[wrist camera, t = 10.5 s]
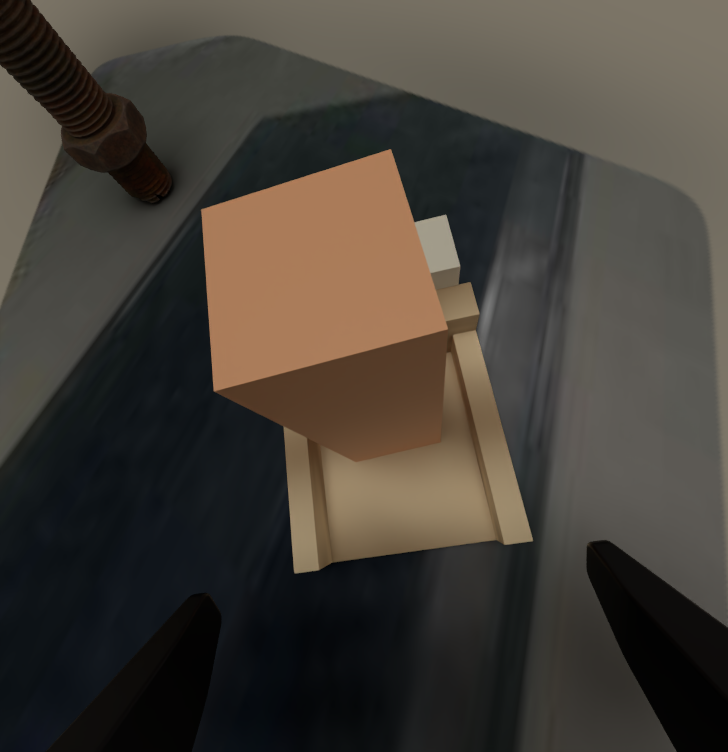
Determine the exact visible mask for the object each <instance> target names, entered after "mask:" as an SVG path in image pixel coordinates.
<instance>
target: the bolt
mask: <svg viewBox="0 0 728 752" xmlns="http://www.w3.org/2000/svg"><path fill="white" fill-rule="evenodd" d="M0 65H1V66H2V67H3V68H5V69H6V70H7V72H8V73H9V74H10V75H12V76H13V77H14V79H15V80H16V81H17V82H19V83H20V85H21V86H22V87H23V88H24V89H26V90H27V92H28V93H29V94H30V95H32V96H33V97H34V99H35V100H36V101H38V102H40V104H41V106H43V107H44V108H46V110H47V111H48V112H49V113H50V114H51V115H52V116H53V118H55V119H56V120H57V122H58V123H59V124H60V125H62V128H61V137H62V143H63V147H64V150H65V151H66V152H67V153H68V154H69V155H70V156H71V157H72V158H73V159H74V160H75V161H76V162H77V163H78V164H80V165H81V166H83V167H86V168H88V169H90V170H94V171H97V172H102V173H104V172H109V174H110V175H111V176H113V178H114V179H115V180H116V181H117V182H118V184H120V185H121V186H122V188H124V189H125V190H126V191H127V192H128V193H129V194H130V195H131V196H132V197H136V198H139V199H141V200H142V201H148V202H150V203H156V202H158V201H159V200H160V199H159V198H158V197H156V195H155V194H157V195H161V196H166V195H167V194H168V192H169V191H170V187H171V184H172V179H171V176H170V174H169V172H168V170H167V169H166V168H165V166H164V165H163V163H161V161H160V160H159V159H158V157H157V156H156V155H155V154H154V152H152V150H151V149H150V148H149V146H148V145H147V144H146V137H147V133H146V126H145V122H144V118H143V116H142V115H141V114H140V112H139V111H138V110H137V108H136V107H135V106H134V105H133V103H132V102H131V101H130V100H128V99H126V98H124V97H121V96H119V95H116V94H111V93H105V92H104V91H103V90H102V88H101V86H100V85H98V84H97V82H96V80H95V79H94V78H92V76H91V75H90V73H89V72H88V71H87V70H86V68H85V67H84V66H83V65H82V64H81V62H80V61H79V60H78V59H76V55H74V54H73V52H71V50H70V48H69V47H68V46H67V45H65V43H64V42H63V40H62V39H61V37H59V36H58V33H57V32H56V31H55V30H54V29H52V26H51V25H50V24H49V22H47V21H46V19H45V18H44V16H43V15H42V14H41V13H39V10H38V9H37V7H36V6H35V5H33V4H32V2H31V0H0ZM153 193H154V194H153Z"/></svg>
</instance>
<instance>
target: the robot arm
mask: <svg viewBox="0 0 728 752" xmlns="http://www.w3.org/2000/svg"><path fill="white" fill-rule="evenodd" d="M587 573H588V576H589V579H590V581H591V583H592V586H593V588H594V590H595V592H596V595H597V597H598V599H599V601H600V604H601V606H602V608H603V611H604V613H605V615H606V617H607V620H608V622H609V624H610V626H611V629H612V631H613V633H614V635H615V638H616V640H617V642H618V644H619V647H620V649H621V651H622V653H623V655H624V657H625V659H626V661H627V663H628V665H629V667H630V669H631V670H632V672H633V674H634V676H635V678H636V679H637V681H638V683H639V685H640V687H641V688H642V690H643V692H644V694H645V696H646V697H647V699H648V701H649V703H650V705H651V706H652V708H653V710H654V712H655V714H656V715H657V717H658V719H659V721H660V723H661V724H662V726H663V728H664V730H665V732H666V733H667V735H668V737H669V739H670V740H671V742H672V744H673V746H674V748H675V749H676V751H677V752H728V627H726V626H725V625H724V624H722V623H721V622H719V621H718V620H717V619H715V618H714V617H713V616H711V615H710V614H708V613H707V612H706V611H704V610H703V609H702V608H700V607H699V606H698V605H696V604H695V603H693V602H692V601H691V600H689V599H688V598H687V597H685V596H684V595H683V594H681V593H680V592H678V591H677V590H676V589H674V588H673V587H672V586H670V585H669V584H668V583H666V582H665V581H663V580H662V579H661V578H659V577H658V576H657V575H655V574H654V573H652V572H651V571H650V570H648V569H647V568H646V567H644V566H643V565H642V564H640V563H639V562H637V561H636V560H635V559H633V558H632V557H631V556H629V555H628V554H627V553H625V552H624V551H622V550H621V549H620V548H618V547H617V546H616V545H614V544H613V543H611V542H610V541H607V540H601V541H593V542H589V543H588V544H587ZM220 628H221V613H220V611H219V609H218V607H217V606H216V604H215V602H214V601H213V599H212V597H211V596H210V594H208V593H199V594H194V595H191V596H190V597H189V598H188V599H187V600H186V601H185V602H184V603H183V604H182V605H181V606H180V607H179V608H178V609H177V610H176V611H175V613H174V614H173V615H172V616H171V617H170V618H169V619H168V620H167V621H166V622H165V623H164V624H163V625H162V627H161V628H160V629H159V630H158V631H157V632H156V633H155V634H154V635H153V636H152V637H151V638H150V640H149V641H148V642H147V643H146V644H145V645H144V646H143V647H142V648H141V649H140V650H139V651H138V652H137V654H136V655H135V656H134V657H133V658H132V659H131V660H130V661H129V662H128V663H127V664H126V665H125V667H124V668H123V669H122V670H121V671H120V672H119V673H118V674H117V675H116V676H115V677H114V678H113V679H112V681H111V682H110V683H109V684H108V685H107V686H106V687H105V688H104V689H103V690H102V691H101V692H100V694H99V695H98V696H97V697H96V698H95V699H94V700H93V701H92V702H91V703H90V704H89V705H88V706H87V708H86V709H85V710H84V711H83V712H82V713H81V714H80V715H79V716H78V717H77V718H76V719H75V721H74V722H73V723H72V724H71V725H70V726H69V727H68V728H67V729H66V730H65V731H64V732H63V734H62V735H61V736H60V737H59V738H58V739H57V740H56V741H55V742H54V743H53V744H52V745H51V746H50V748H49V749H48V750H47V751H46V752H192V749H193V745H194V741H195V738H196V734H197V731H198V727H199V724H200V720H201V717H202V713H203V709H204V706H205V702H206V698H207V694H208V689H209V685H210V680H211V675H212V669H213V664H214V659H215V654H216V648H217V643H218V638H219V633H220Z"/></svg>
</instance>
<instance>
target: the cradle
mask: <svg viewBox="0 0 728 752" xmlns="http://www.w3.org/2000/svg"><path fill="white" fill-rule="evenodd" d="M436 293H437V296H438V299H439V302H440V305H441V308H442V311H443V315H444V318H445V321H446V324H447V327H448V339H447V354H446V368H445V383H444V398H443V413H442V428H441V442H440V443H436V444H431V445H427V446H423V447H418V448H414V449H410V450H406V451H401V452H397V453H393V454H389V455H384V456H380V457H376V458H372V459H367V460H363V461H359V462H354V461H352V460H350V459H348V458H346V457H344V456H342V455H340V454H338V453H336V452H334V451H332V450H330V449H328V448H326V447H324V446H322V445H320V444H318V443H316V442H314V441H312V440H310V439H308V438H306V437H304V436H302V435H300V434H298V433H296V432H294V431H292V430H290V429H288V428H286V427H284V437H285V451H286V465H287V479H288V493H289V507H290V521H291V535H292V549H293V563H294V573H301V572H309V571H316V570H320V569H322V568H324V567H325V566H327V565H329V564H330V563H332V562H339V561H346V560H354V559H361V558H368V557H375V556H383V555H390V554H397V553H404V552H412V551H419V550H426V549H434V548H441V547H448V546H455V545H463V544H470V543H477V542H484V541H492V540H498V541H499V542H501V543H502V544H504V545H508V544H515V543H523V542H530V541H533V539H532V535H531V531H530V528H529V524H528V520H527V517H526V513H525V509H524V506H523V502H522V498H521V495H520V491H519V487H518V484H517V480H516V476H515V473H514V469H513V465H512V461H511V458H510V454H509V450H508V447H507V443H506V439H505V436H504V432H503V428H502V425H501V421H500V417H499V414H498V410H497V406H496V403H495V399H494V395H493V392H492V388H491V384H490V381H489V377H488V373H487V370H486V366H485V362H484V359H483V355H482V351H481V347H480V344H479V340H478V336H477V333H476V327H477V323H478V318H479V311H478V307H477V304H476V300H475V296H474V293H473V289H472V286H471V282H469V283H464V284H460V285H455V286H451V287H446V288H442V289H437V290H436Z"/></svg>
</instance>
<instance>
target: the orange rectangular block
mask: <svg viewBox="0 0 728 752" xmlns="http://www.w3.org/2000/svg"><path fill="white" fill-rule="evenodd" d="M202 224H203V239H204V253H205V268H206V283H207V297H208V312H209V326H210V341H211V356H212V370H213V385H214V392H216V393H218V394H220V395H222V396H224V397H226V398H228V399H230V400H232V401H234V402H236V403H238V404H240V405H242V406H244V407H246V408H248V409H250V410H252V411H254V412H256V413H258V414H260V415H262V416H264V417H266V418H268V419H270V420H272V421H274V422H276V423H278V424H280V425H282V426H284V427H286V428H288V429H290V430H292V431H294V432H296V433H298V434H300V435H302V436H304V437H306V438H308V439H310V440H312V441H314V442H316V443H318V444H320V445H322V446H324V447H326V448H328V449H330V450H332V451H334V452H336V453H338V454H340V455H342V456H344V457H346V458H348V459H350V460H352V461H354V462H359V461H363V460H367V459H372V458H376V457H380V456H384V455H389V454H393V453H397V452H401V451H406V450H410V449H414V448H418V447H423V446H427V445H431V444H436V443H440V442H441V428H442V413H443V398H444V383H445V368H446V354H447V339H448V327H447V324H446V321H445V318H444V315H443V311H442V308H441V305H440V302H439V299H438V296H437V293H436V289H435V286H434V283H433V280H432V277H431V274H430V270H429V267H428V264H427V261H426V258H425V255H424V252H423V248H422V245H421V242H420V239H419V236H418V233H417V230H416V226H415V223H414V220H413V217H412V214H411V211H410V208H409V204H408V201H407V198H406V195H405V192H404V189H403V186H402V182H401V179H400V176H399V173H398V170H397V167H396V164H395V160H394V157H393V154H392V151H391V149H390V150H387V151H384V152H380V153H377V154H374V155H371V156H368V157H365V158H362V159H359V160H355V161H352V162H349V163H346V164H343V165H340V166H337V167H334V168H330V169H327V170H324V171H321V172H318V173H315V174H312V175H308V176H305V177H302V178H299V179H296V180H293V181H290V182H287V183H283V184H280V185H277V186H274V187H271V188H268V189H265V190H261V191H258V192H255V193H252V194H249V195H246V196H243V197H240V198H236V199H233V200H230V201H227V202H224V203H221V204H218V205H215V206H211V207H208V208H205V209H202Z"/></svg>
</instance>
